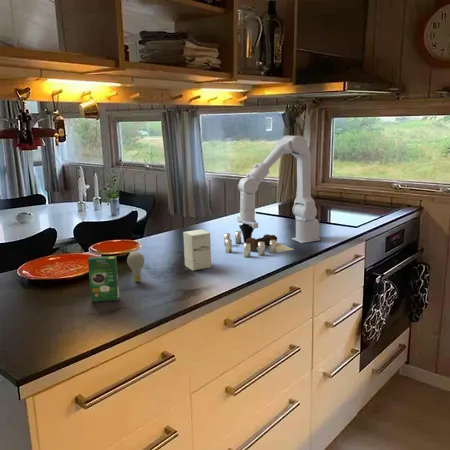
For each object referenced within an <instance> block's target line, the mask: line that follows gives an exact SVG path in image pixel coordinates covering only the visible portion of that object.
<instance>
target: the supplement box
mask: <svg viewBox="0 0 450 450" xmlns="http://www.w3.org/2000/svg"><path fill="white" fill-rule="evenodd" d="M182 235H183V255H184V267H187V268H188V269H189V270H191V271H197V270H201V269H208V268H212V251H211V250H212V249H211V245H212V244H211V243H212V242H211V232H208V231H207V230H204V229H195V230H190V231H189V230H188V231H183V233H182Z"/></svg>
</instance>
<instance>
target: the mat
mask: <svg viewBox="0 0 450 450" xmlns="http://www.w3.org/2000/svg"><path fill="white" fill-rule="evenodd" d="M266 247H267V248H268V249H270V246H265V248H266ZM293 250H294V251H295V249H294V248H291V247H289V246H287V245H285V244H282V243H280V242H278V241H277V242H276V253H277V252H278V253H283V252H288V251H293Z"/></svg>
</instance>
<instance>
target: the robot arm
mask: <svg viewBox="0 0 450 450" xmlns="http://www.w3.org/2000/svg"><path fill="white" fill-rule="evenodd" d="M287 154H291V155H292V156H294V158H296V185H297V186H296V190H297V191H296V194H297V196H296V197H295V199H294V202H293V203H294V204H293V207H292V214H293V215H294V216H295V217H294V218H295V237H291V240H293V241H296V242H298V243H300V244H304V243H311V242H312V243H313V242H318V241H321V240H322V239H321V238H320V230H321V227H320V226H321V225H320V221H319V220H318V219H317V218H316V217H317V215H318V210H317V207H316V202H315V200H314V199H313V197H312V189H311V188H312V183H311V182H312V178H311V176H312V175H311V174H312V172H311V166H312V165H311V164H312V163H311V157H312V156H311V151H310V148H309V146H308V140H307V139H306V138H305V137H304V136H302V135H289V134H285V135H283V136H282V137H281V139H279V140H278V141H277V143H276V145H275V147H274V148H273V149H272V150H271V152H270V153H269V154H268V155H267V156H266V158H265V159H264V160H263V162H258V163H256V164H254V165H253V169H251V170H250V172H248V173H246V174H245V177H243V178H241V179H240V180H239V182H238V184H237V188H238V191H239V192H240V193H239V195H240V197H239V198H240V200H239V201H240V202H239V208H240V209H239V216H237V217H236V222H237V223H239V229H240V231H241V235H242V236H243V237H242V239H243V244H244V243H246V240H247V239H248V238H251V235H252V236H253V233H254V230H255V229H258V228H259V222H257V221H256V218H255V217H256V216H255V215H256V211H255V210H256V192H257V191H258V190H259V185H260V184H261V183H262V181H263V180H264V179H265V178H267V176H268V175H269V173H270V168H271V167H273V165H274V164H275V163H276V162H277V161H278V160H279V159H280V158H281V157H282V156H283V155H287ZM240 223H242V224H240Z"/></svg>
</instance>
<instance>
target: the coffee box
mask: <svg viewBox="0 0 450 450" xmlns="http://www.w3.org/2000/svg"><path fill="white" fill-rule="evenodd" d="M117 257H118V256H117V255H114V256H113V255H112V256H89V257H88V259H87V264H88V278H89V290H90V299H91V300H90V301H91V302H92V303H93V302H94V303H95V302H97V303H98V302H115V301H119V300H120V299H119V298H120V289H119V274H118V260H117V259H118V258H117Z"/></svg>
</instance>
